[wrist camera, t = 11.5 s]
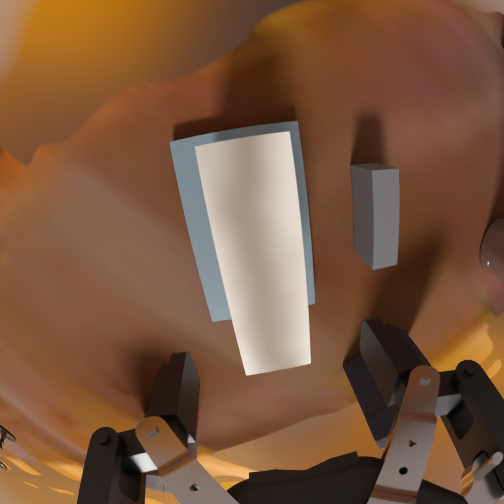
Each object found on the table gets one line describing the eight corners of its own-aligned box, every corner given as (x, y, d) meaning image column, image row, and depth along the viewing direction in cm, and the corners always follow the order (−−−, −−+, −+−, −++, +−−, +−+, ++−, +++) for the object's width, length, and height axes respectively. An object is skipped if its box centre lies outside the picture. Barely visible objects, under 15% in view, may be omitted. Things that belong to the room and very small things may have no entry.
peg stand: (293, 121, 25) (320, 115, 17) (311, 296, 33) (333, 342, 25) (172, 141, 25) (148, 143, 17) (213, 314, 33) (210, 364, 25)
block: (374, 162, 27) (398, 168, 23) (376, 246, 31) (396, 264, 27) (350, 164, 27) (371, 170, 23) (354, 251, 31) (372, 270, 27)
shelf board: (280, 132, 18) (289, 131, 15) (303, 341, 25) (310, 363, 22) (199, 145, 18) (194, 146, 15) (244, 352, 25) (246, 375, 22)
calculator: (347, 376, 40) (380, 451, 26) (340, 362, 38) (375, 442, 24) (406, 342, 38) (452, 408, 25) (402, 325, 37) (454, 394, 23)
